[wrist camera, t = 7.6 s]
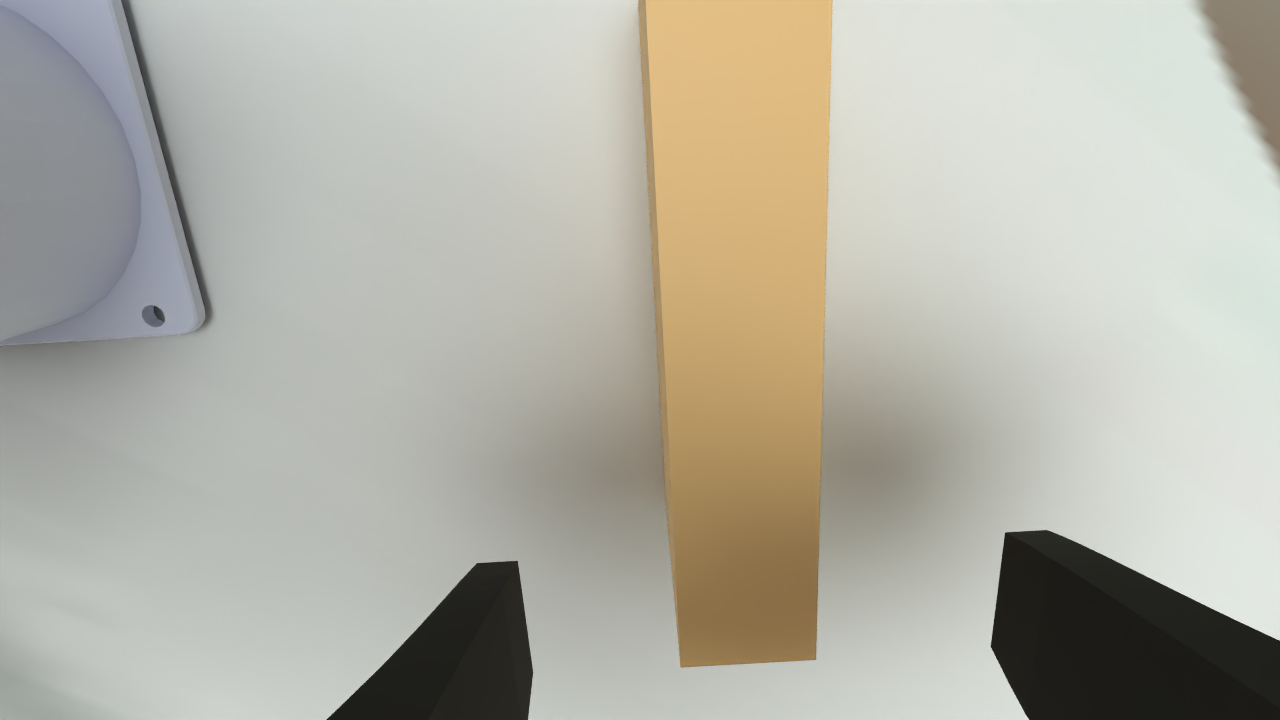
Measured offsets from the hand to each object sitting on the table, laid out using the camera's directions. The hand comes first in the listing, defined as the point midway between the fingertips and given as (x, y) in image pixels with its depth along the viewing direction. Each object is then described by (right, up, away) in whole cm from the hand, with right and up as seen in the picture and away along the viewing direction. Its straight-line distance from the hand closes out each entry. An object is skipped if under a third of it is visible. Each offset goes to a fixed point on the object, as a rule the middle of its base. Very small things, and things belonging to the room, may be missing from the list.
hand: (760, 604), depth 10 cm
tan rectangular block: (0, +6, +6) cm, 8 cm away
